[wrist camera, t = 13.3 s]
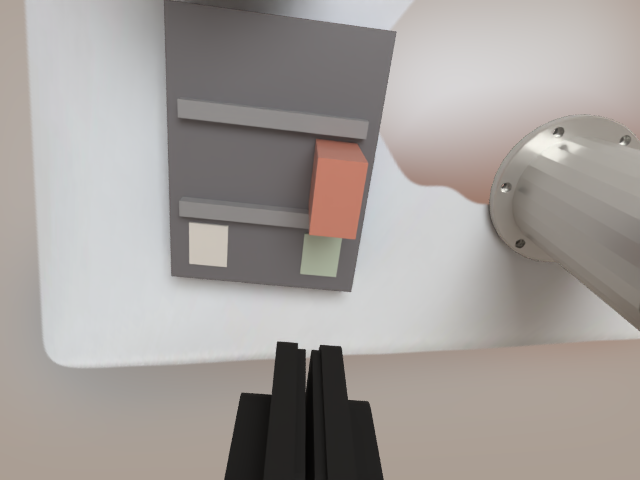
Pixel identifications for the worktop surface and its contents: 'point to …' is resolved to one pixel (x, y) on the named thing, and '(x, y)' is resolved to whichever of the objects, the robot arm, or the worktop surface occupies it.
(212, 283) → the worktop surface
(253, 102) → the breaker panel
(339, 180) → the handle
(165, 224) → the worktop surface
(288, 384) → the robot arm
